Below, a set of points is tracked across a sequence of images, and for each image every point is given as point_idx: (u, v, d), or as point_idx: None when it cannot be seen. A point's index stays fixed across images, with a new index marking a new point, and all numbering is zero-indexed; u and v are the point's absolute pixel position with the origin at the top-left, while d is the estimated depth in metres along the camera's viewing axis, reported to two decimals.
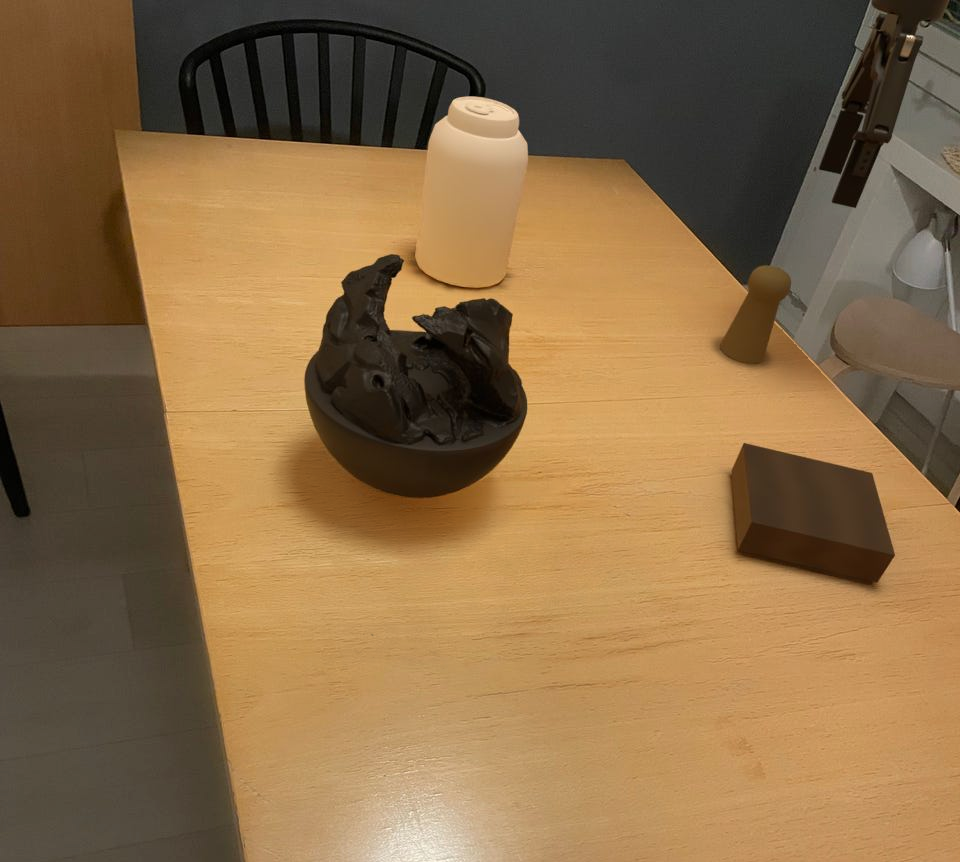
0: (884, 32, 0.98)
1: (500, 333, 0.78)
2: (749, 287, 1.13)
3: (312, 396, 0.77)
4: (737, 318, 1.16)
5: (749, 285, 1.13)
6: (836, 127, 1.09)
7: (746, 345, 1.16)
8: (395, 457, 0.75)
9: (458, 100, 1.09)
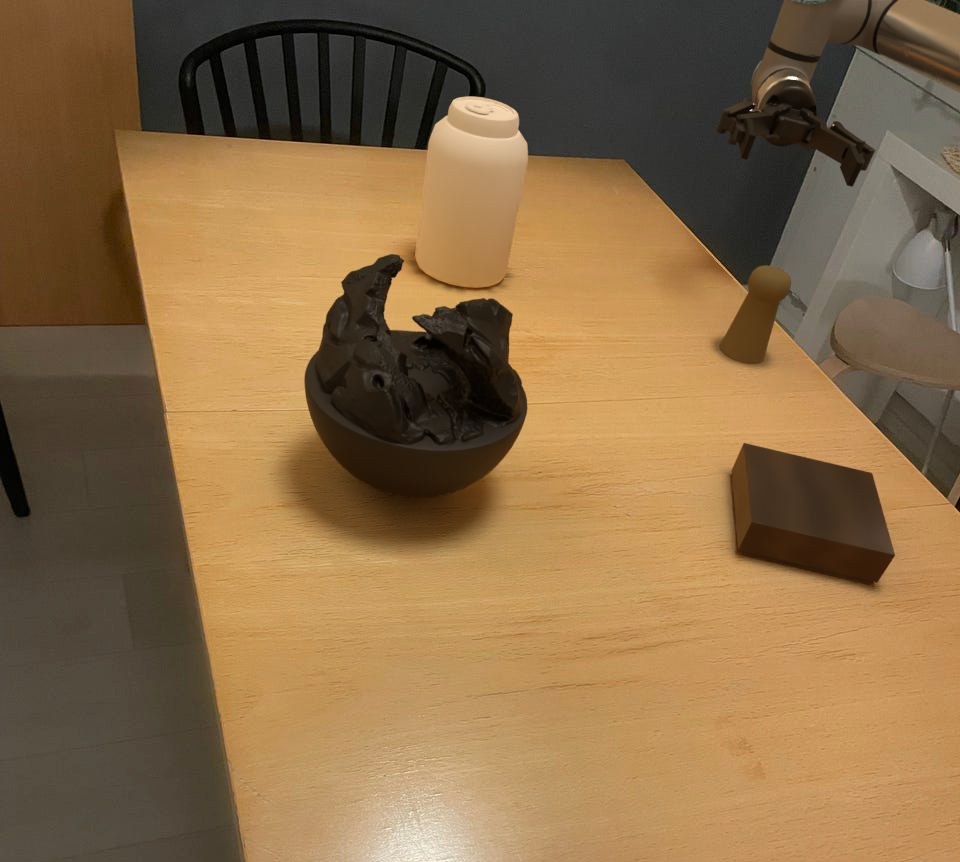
0: None
1: (500, 333, 0.78)
2: (749, 287, 1.13)
3: (312, 396, 0.77)
4: (737, 318, 1.16)
5: (749, 285, 1.13)
6: (842, 170, 1.15)
7: (746, 345, 1.16)
8: (395, 457, 0.75)
9: (458, 100, 1.09)
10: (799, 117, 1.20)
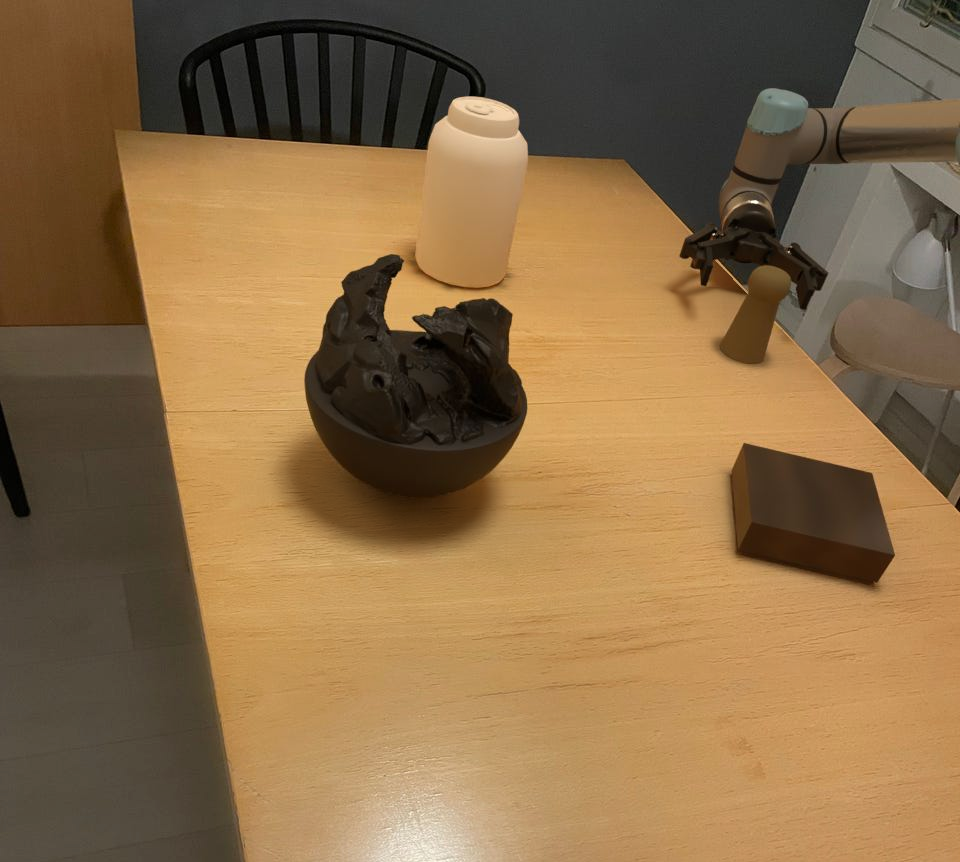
0: None
1: (500, 333, 0.78)
2: (749, 287, 1.13)
3: (312, 396, 0.77)
4: (737, 318, 1.16)
5: (749, 285, 1.13)
6: (797, 292, 1.24)
7: (746, 345, 1.16)
8: (395, 457, 0.75)
9: (458, 100, 1.09)
10: (758, 240, 1.28)
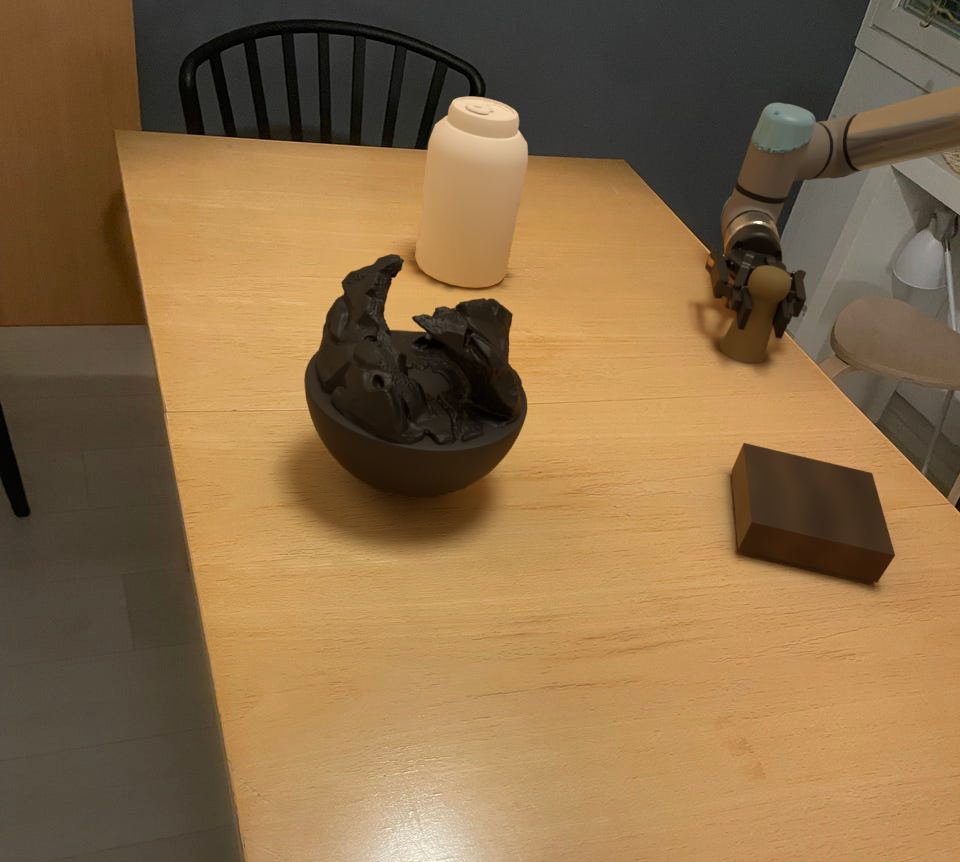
0: None
1: (500, 333, 0.78)
2: (749, 287, 1.13)
3: (312, 396, 0.77)
4: None
5: (749, 285, 1.13)
6: None
7: (746, 345, 1.16)
8: (395, 457, 0.75)
9: (458, 100, 1.09)
10: (761, 262, 1.22)
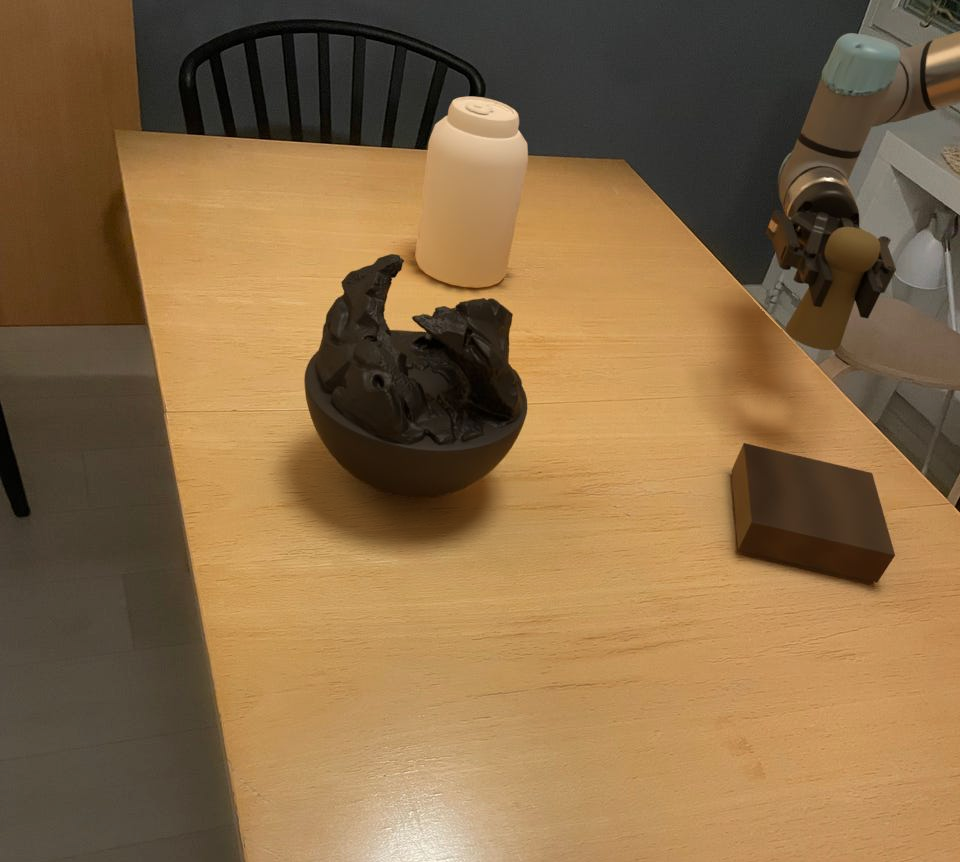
0: None
1: (500, 333, 0.78)
2: (827, 254, 0.90)
3: (312, 396, 0.77)
4: (809, 294, 0.93)
5: (827, 251, 0.90)
6: None
7: (821, 327, 0.93)
8: (395, 457, 0.75)
9: (458, 100, 1.09)
10: (835, 227, 0.99)
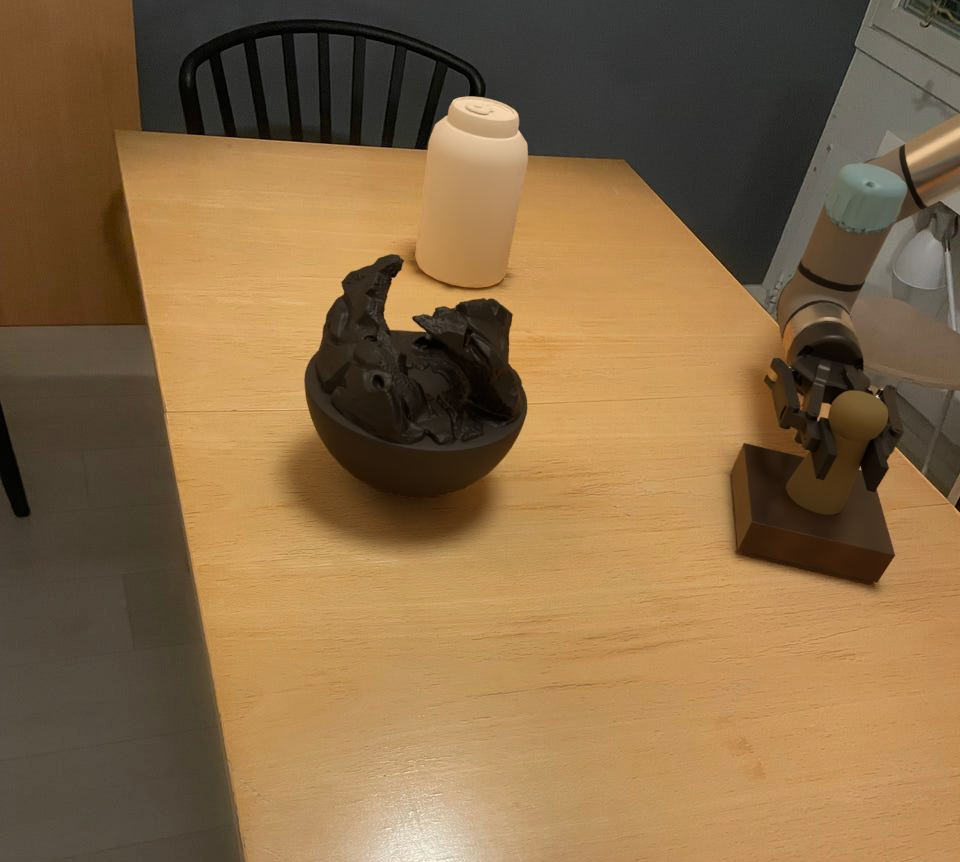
0: None
1: (500, 333, 0.78)
2: (831, 420, 0.84)
3: (312, 396, 0.77)
4: (811, 457, 0.87)
5: (831, 418, 0.84)
6: None
7: (824, 493, 0.87)
8: (395, 457, 0.75)
9: (458, 100, 1.09)
10: (838, 375, 0.93)
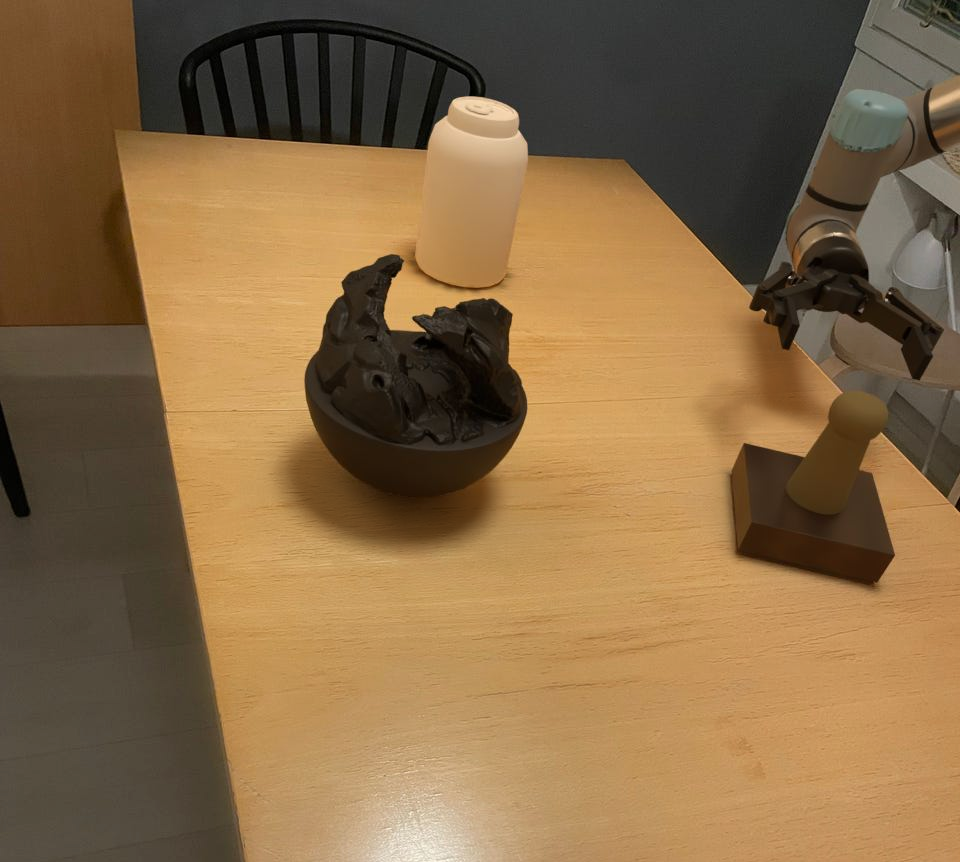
0: None
1: (500, 333, 0.78)
2: (831, 420, 0.84)
3: (312, 396, 0.77)
4: (811, 457, 0.87)
5: (831, 417, 0.84)
6: (904, 355, 0.95)
7: (824, 493, 0.87)
8: (395, 457, 0.75)
9: (458, 100, 1.09)
10: (848, 285, 1.00)
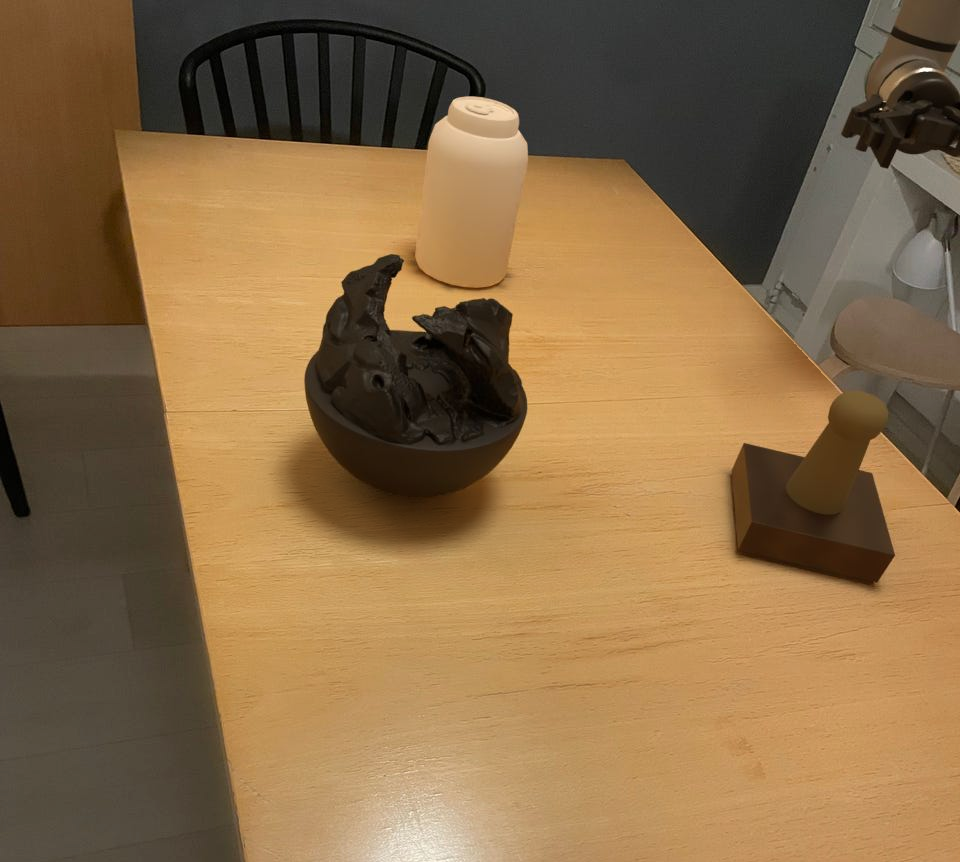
0: None
1: (500, 333, 0.78)
2: (831, 420, 0.84)
3: (312, 396, 0.77)
4: (811, 457, 0.87)
5: (831, 417, 0.84)
6: None
7: (824, 493, 0.87)
8: (395, 457, 0.75)
9: (458, 100, 1.09)
10: (942, 117, 0.95)
